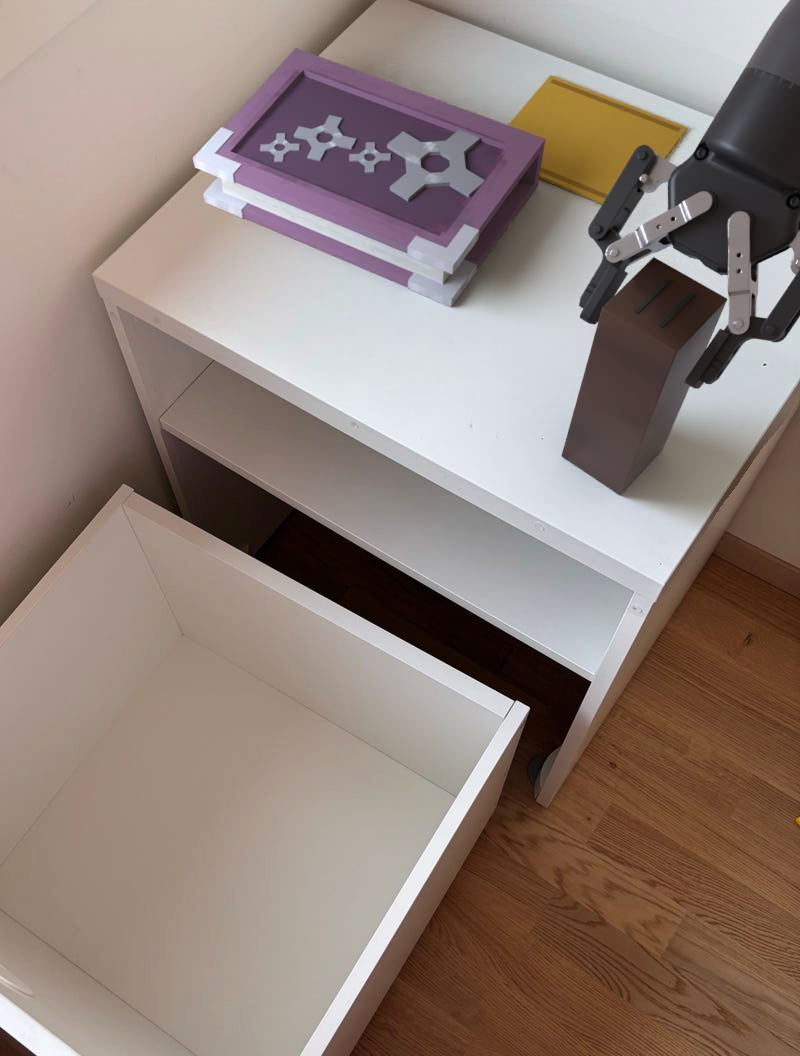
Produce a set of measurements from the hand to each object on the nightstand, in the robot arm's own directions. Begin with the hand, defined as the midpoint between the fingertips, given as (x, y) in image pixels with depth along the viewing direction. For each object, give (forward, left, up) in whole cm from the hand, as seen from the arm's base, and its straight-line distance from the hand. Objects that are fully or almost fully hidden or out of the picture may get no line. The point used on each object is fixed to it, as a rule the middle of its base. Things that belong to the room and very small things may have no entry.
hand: (638, 352), depth 65 cm
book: (+24, -24, -13) cm, 36 cm away
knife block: (-1, -1, -13) cm, 13 cm away
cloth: (+6, -34, -13) cm, 37 cm away
